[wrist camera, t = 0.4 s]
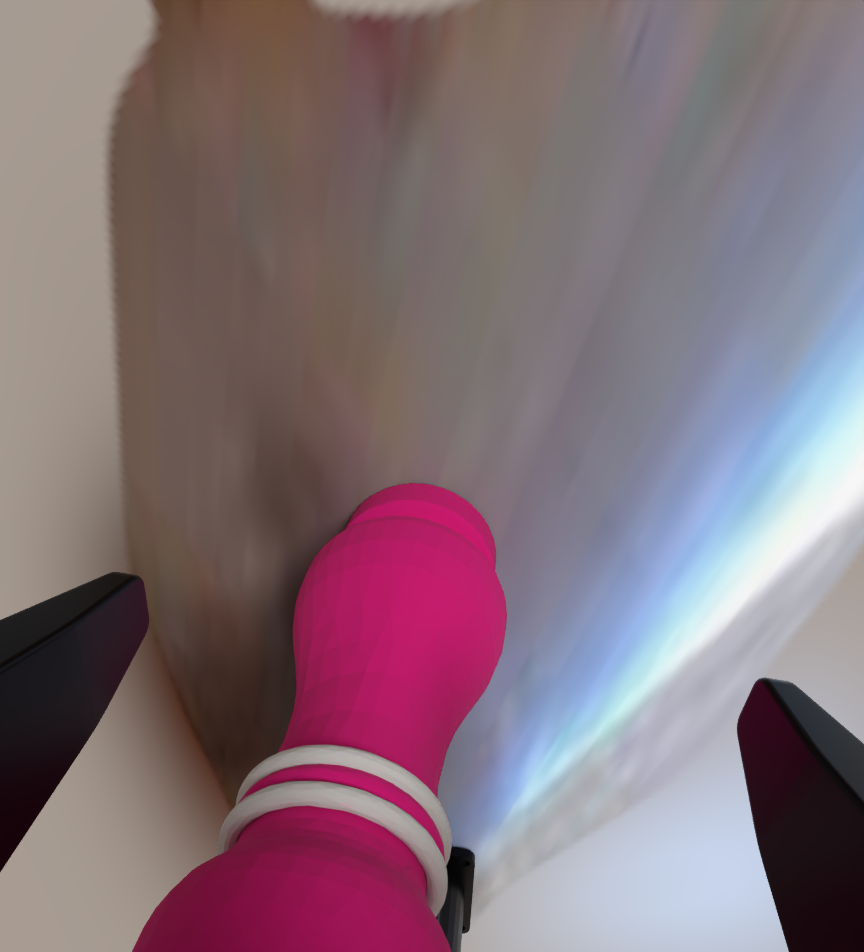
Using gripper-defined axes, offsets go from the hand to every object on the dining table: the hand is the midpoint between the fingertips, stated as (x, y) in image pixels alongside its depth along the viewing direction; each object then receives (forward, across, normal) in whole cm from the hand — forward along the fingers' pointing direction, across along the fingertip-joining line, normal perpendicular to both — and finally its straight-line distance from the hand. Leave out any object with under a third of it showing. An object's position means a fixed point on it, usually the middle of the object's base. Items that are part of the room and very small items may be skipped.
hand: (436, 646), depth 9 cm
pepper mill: (+14, +2, +8) cm, 16 cm away
